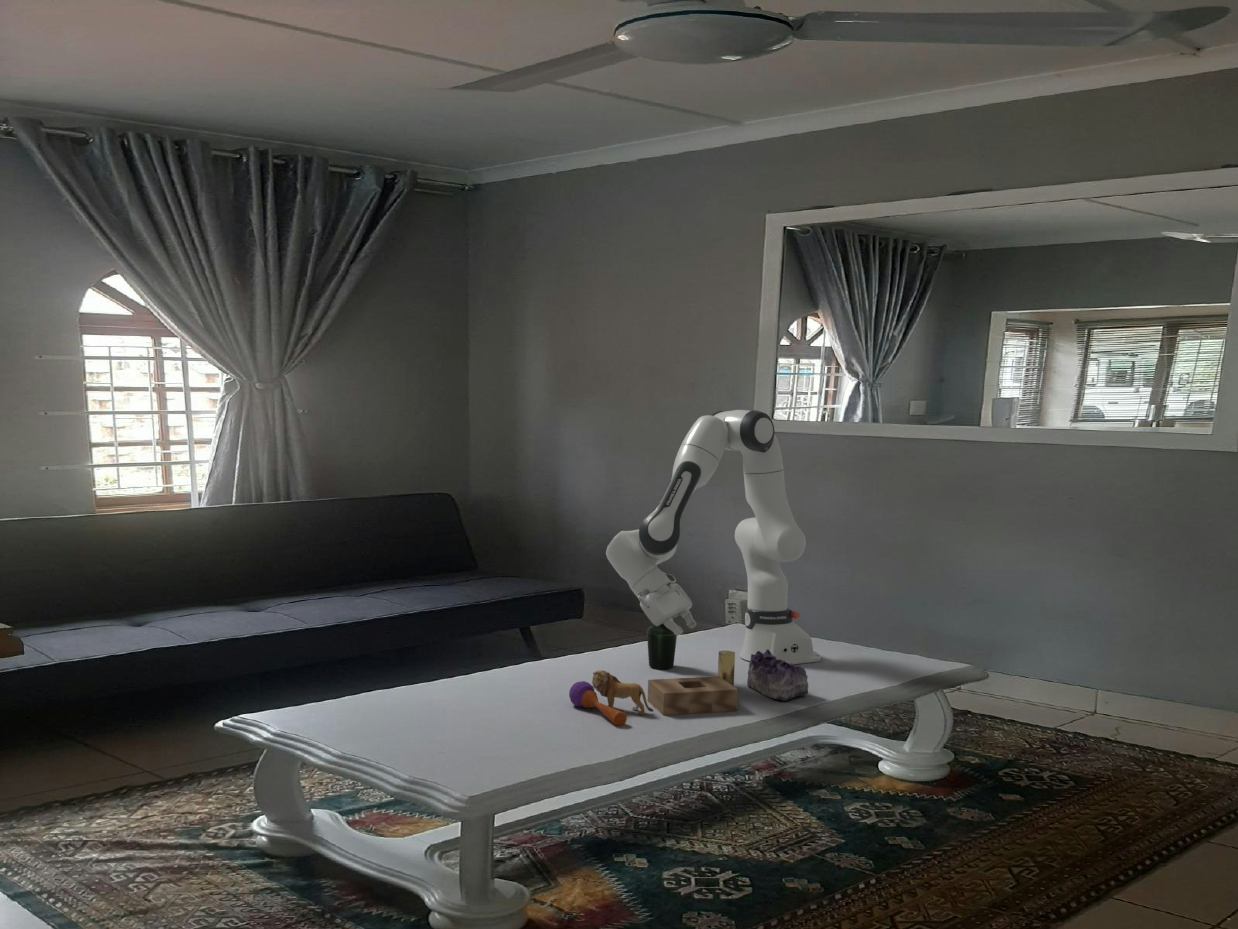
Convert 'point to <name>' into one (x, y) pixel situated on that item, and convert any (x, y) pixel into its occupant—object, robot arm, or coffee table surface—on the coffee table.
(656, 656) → the potion bottle
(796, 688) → the geode
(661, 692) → the walnut hole block
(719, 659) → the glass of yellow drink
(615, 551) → the robot arm
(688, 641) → the coffee table surface
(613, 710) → the purple and orange maraca
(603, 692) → the lion figurine
